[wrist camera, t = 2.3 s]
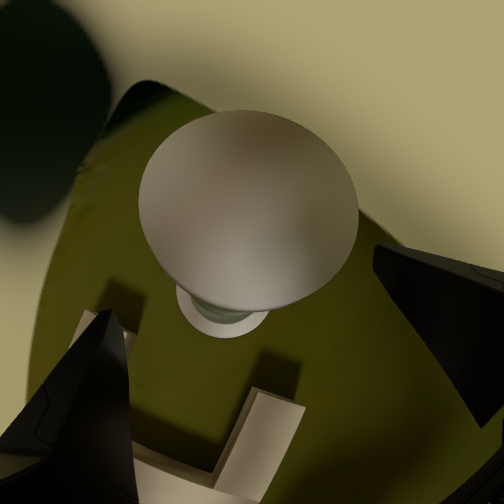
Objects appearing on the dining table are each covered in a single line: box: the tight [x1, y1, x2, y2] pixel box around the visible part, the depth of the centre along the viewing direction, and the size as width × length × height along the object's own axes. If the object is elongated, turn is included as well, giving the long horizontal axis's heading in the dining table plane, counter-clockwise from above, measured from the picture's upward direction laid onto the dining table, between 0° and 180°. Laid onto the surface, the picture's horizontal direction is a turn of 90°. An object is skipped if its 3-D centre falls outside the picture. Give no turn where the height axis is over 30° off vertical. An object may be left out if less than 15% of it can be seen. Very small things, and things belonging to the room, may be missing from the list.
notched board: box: [69, 309, 306, 504], centre depth 14 cm, size 14×11×2 cm
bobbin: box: [139, 110, 359, 338], centre depth 13 cm, size 6×6×13 cm
